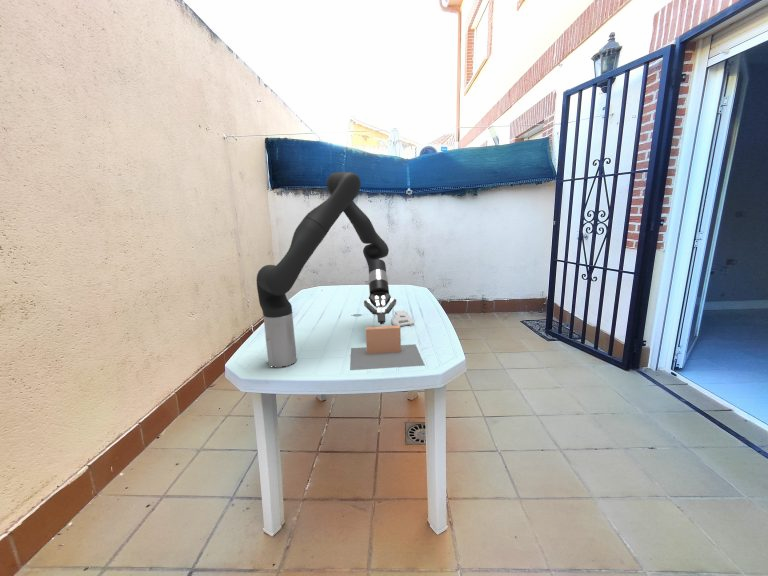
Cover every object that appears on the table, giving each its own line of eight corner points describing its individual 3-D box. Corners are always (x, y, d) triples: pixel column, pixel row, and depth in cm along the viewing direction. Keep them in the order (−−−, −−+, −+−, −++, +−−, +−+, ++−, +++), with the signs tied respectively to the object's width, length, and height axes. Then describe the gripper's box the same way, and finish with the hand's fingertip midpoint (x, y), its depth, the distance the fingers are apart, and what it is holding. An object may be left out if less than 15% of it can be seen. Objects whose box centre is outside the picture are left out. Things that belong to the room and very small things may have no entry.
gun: (387, 309, 163) (407, 308, 164) (387, 316, 164) (407, 315, 165) (394, 323, 145) (417, 321, 147) (394, 331, 146) (416, 329, 148)
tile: (367, 353, 120) (365, 329, 118) (366, 351, 122) (365, 327, 120) (400, 351, 121) (400, 327, 119) (400, 349, 123) (399, 325, 121)
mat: (350, 371, 108) (349, 370, 108) (351, 349, 126) (351, 348, 126) (424, 366, 110) (424, 365, 110) (415, 345, 127) (415, 344, 127)
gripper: (361, 279, 131) (363, 319, 122) (395, 277, 132) (400, 317, 122) (361, 289, 137) (364, 328, 128) (394, 288, 138) (399, 326, 129)
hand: (381, 323), depth 125 cm, fingers closed
